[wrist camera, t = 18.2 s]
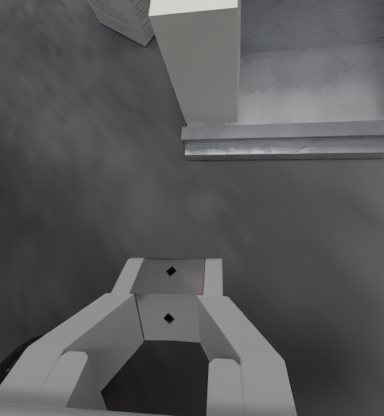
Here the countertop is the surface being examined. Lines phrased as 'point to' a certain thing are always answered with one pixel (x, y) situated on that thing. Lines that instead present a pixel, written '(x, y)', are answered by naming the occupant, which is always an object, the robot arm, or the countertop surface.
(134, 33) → the skincare box
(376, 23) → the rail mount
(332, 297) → the countertop surface
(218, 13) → the block
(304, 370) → the countertop surface
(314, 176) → the countertop surface
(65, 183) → the countertop surface
